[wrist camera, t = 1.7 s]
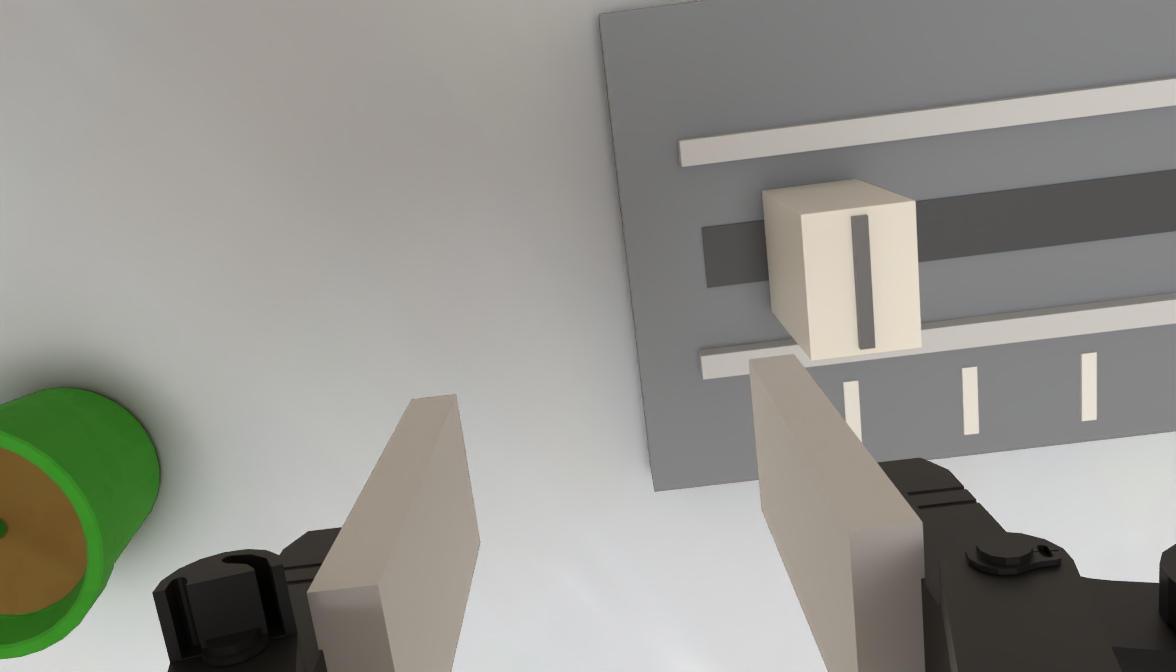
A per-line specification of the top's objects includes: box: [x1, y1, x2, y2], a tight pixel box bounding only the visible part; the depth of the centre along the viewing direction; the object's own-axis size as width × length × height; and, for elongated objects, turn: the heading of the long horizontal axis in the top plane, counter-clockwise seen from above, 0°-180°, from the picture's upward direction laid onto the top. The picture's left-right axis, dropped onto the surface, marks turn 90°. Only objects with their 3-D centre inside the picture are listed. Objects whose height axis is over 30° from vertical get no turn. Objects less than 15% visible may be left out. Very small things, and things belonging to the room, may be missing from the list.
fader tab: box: [762, 179, 922, 361], centre depth 30 cm, size 4×3×6 cm
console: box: [599, 0, 1176, 492], centre depth 33 cm, size 16×30×3 cm, turn 97°
